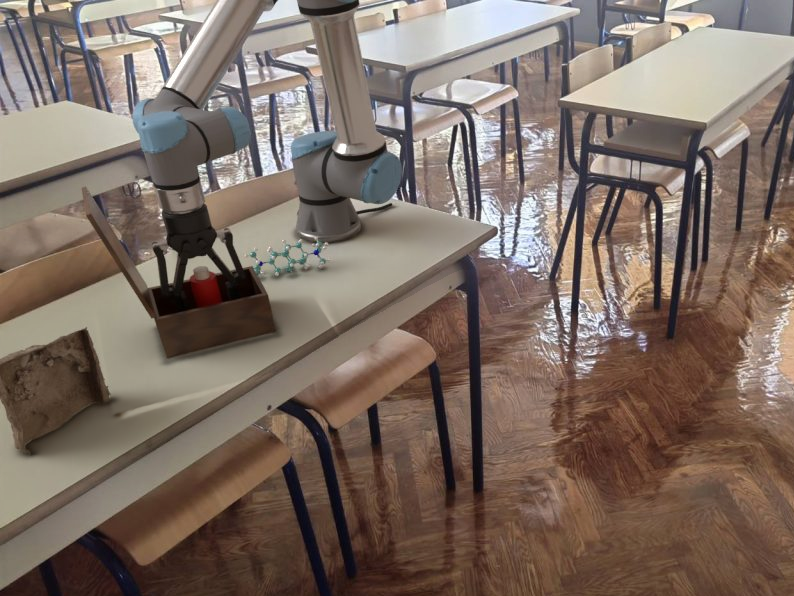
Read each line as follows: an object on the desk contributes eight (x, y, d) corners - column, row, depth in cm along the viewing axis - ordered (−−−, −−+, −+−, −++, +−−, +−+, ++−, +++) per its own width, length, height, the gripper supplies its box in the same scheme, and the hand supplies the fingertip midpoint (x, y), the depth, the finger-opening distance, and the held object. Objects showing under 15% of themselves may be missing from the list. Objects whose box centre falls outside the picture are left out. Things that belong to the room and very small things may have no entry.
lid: (85, 186, 129) (81, 187, 129) (90, 213, 119) (85, 215, 119) (147, 285, 142) (142, 287, 142) (156, 317, 133) (151, 318, 132)
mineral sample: (28, 457, 117) (-12, 376, 108) (11, 450, 118) (-30, 369, 109) (118, 399, 129) (88, 322, 120) (101, 393, 130) (71, 316, 122)
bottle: (226, 319, 149) (211, 261, 141) (230, 330, 145) (215, 271, 138) (201, 325, 147) (185, 266, 139) (206, 336, 143) (189, 277, 136)
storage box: (261, 305, 155) (252, 265, 150) (276, 335, 145) (268, 294, 140) (158, 328, 148) (145, 288, 142) (168, 362, 138) (154, 320, 133)
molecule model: (247, 273, 167) (240, 242, 162) (326, 257, 173) (322, 228, 168) (253, 289, 161) (246, 258, 156) (335, 272, 167) (330, 242, 162)
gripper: (122, 225, 125) (160, 342, 138) (247, 203, 133) (272, 315, 146) (118, 209, 130) (154, 323, 144) (239, 189, 138) (263, 298, 151)
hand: (214, 319), depth 145 cm, fingers open, 8 cm apart
